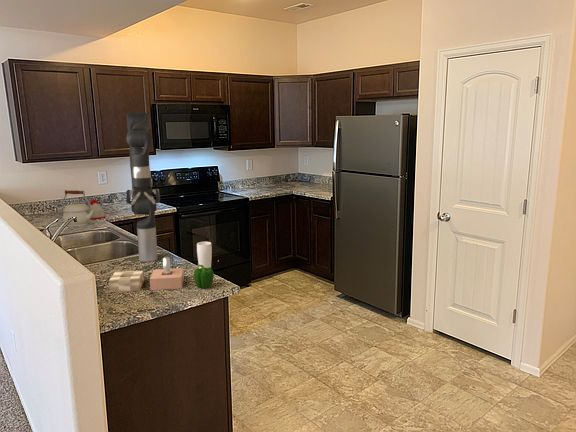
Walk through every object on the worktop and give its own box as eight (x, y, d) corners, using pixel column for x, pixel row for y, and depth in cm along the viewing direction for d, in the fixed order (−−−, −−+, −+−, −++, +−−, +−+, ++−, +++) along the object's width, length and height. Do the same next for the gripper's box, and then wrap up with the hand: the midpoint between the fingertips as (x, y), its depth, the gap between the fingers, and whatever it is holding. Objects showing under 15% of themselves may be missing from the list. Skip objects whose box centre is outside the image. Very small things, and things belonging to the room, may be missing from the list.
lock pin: (164, 283, 196) (163, 257, 194) (171, 282, 197) (170, 256, 195) (163, 285, 194) (162, 259, 191) (170, 285, 194) (169, 258, 192)
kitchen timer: (81, 219, 340) (80, 200, 337) (94, 216, 353) (92, 197, 350) (97, 220, 336) (95, 200, 333) (109, 217, 349) (107, 198, 346)
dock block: (154, 280, 201) (153, 269, 200) (183, 278, 203) (183, 268, 202) (150, 290, 188) (149, 278, 187) (181, 288, 190) (181, 277, 189)
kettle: (55, 226, 313) (51, 191, 309) (72, 221, 331) (68, 188, 326) (87, 228, 309) (84, 192, 305) (102, 222, 327) (100, 189, 322)
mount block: (115, 282, 198) (115, 271, 197) (143, 281, 199) (143, 270, 198) (109, 292, 186) (108, 280, 185) (139, 290, 188) (138, 279, 187)
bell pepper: (217, 284, 195) (216, 262, 193) (209, 290, 187) (208, 267, 185) (199, 282, 197) (198, 261, 195) (191, 289, 189) (190, 266, 187)
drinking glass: (207, 271, 213) (206, 240, 210) (215, 274, 208) (214, 243, 205) (195, 274, 208) (193, 243, 206) (203, 277, 204) (202, 245, 201)
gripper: (159, 175, 202) (161, 210, 205) (126, 176, 200) (129, 211, 203) (157, 177, 195) (159, 213, 198) (123, 177, 193) (126, 214, 196)
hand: (144, 212), depth 201 cm, fingers open, 8 cm apart
